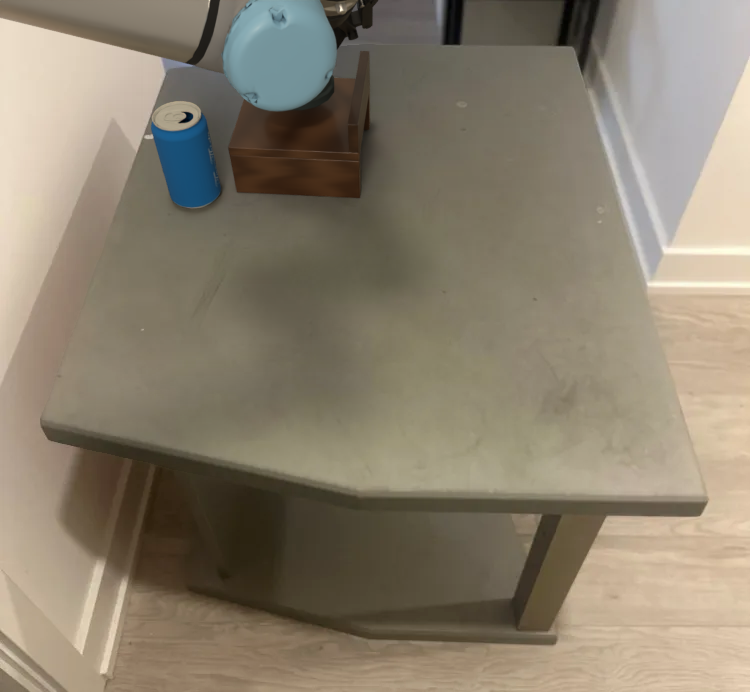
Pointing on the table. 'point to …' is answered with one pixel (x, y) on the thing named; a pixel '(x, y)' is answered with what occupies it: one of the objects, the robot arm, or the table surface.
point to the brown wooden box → (305, 143)
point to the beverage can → (186, 154)
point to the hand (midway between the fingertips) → (290, 51)
